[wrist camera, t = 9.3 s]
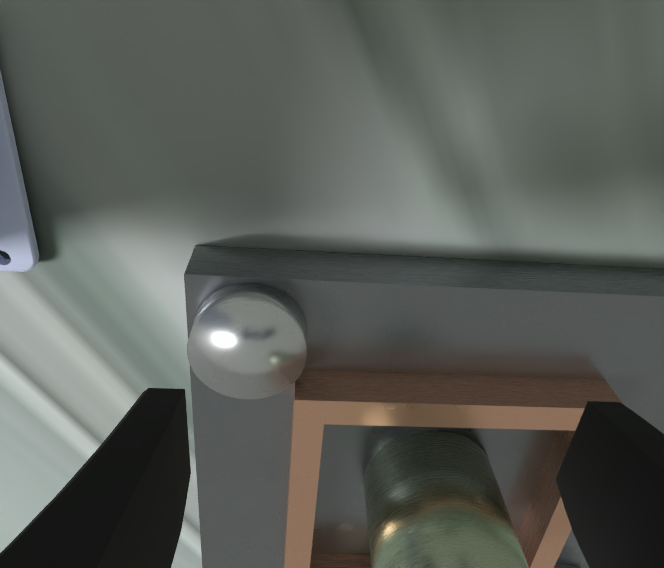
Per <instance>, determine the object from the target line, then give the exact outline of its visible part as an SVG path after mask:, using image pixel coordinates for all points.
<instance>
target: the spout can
mask: <svg viewBox="0 0 664 568" xmlns="http://www.w3.org/2000/svg"><path fill="white" fill-rule="evenodd" d="M364 494H365V504H366V515H367V525H368V535H369V545H370V556H371V566H372V568H529V566H528V564H527V561H526V558H525V556H524V553H523V550H522V547H521V545H520V542H519V539H518V537H517V534H516V531H515V529H514V526H513V523H512V521H511V518H510V515H509V513H508V510H507V507H506V504H505V502H504V499H503V496H502V494H501V491H500V488H499V486H498V483H497V480H496V478H495V475H494V472H493V470H492V467H491V464H490V461H489V459H488V457H487V455H486V453H485V452H484V451H483V449H482V448H481V447H480V446H479V445H477V444H476V443H475V442H474V441H472V440H470V439H468V438H466V437H464V436H462V435H459V434H455V433H451V432H445V431H424V432H417V433H413V434H409V435H406V436H403V437H400V438H398V439H396V440H394V441H392V442H390V443H389V444H387V445H386V446H384V447H383V448H382V449H380V450H379V451H378V452H377V453H376V454H375V455H374V456H373V458H372V459H371V460H370V462H369V464H368V465H367V468H366V470H365V473H364Z"/></svg>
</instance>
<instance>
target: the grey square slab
mask: <svg viewBox="0 0 664 568" xmlns="http://www.w3.org/2000/svg"><path fill="white" fill-rule="evenodd" d="M184 280H185V296H186V312H187V328H188V344H187V355H188V360H189V363H190V375H191V391H192V407H193V423H194V439H195V455H196V471H197V487H198V502H199V518H200V534H201V550H202V566H203V568H372V566H371V556H370V545H369V535H368V525H367V515H366V504H365V494H364V473H365V470H366V468H367V465H368V464H369V462H370V460H371V459H372V458H373V456H374V455H375V454H376V453H377V452H378V451H379V450H380V449H382V448H383V447H384V446H386V445H387V444H389V443H390V442H392V441H394V440H396V439H398V438H400V437H403V436H406V435H409V434H413V433H417V432H424V431H445V432H451V433H455V434H459V435H462V436H464V437H466V438H468V439H470V440H472V441H474V442H475V443H476V444H477V445H479V446H480V447H481V448H482V449H483V451H484V452H485V453H486V455H487V457H488V459H489V461H490V464H491V467H492V470H493V472H494V475H495V478H496V480H497V483H498V486H499V488H500V491H501V494H502V496H503V499H504V502H505V504H506V507H507V510H508V513H509V515H510V518H511V521H512V523H513V526H514V529H515V531H516V534H517V537H518V539H519V542H520V545H521V547H522V550H523V553H524V556H525V558H526V561H527V564H528V566H529V568H589V566H588V564H587V562H586V560H585V558H584V555H583V553H582V551H581V549H580V547H579V545H578V542H577V540H576V538H575V536H574V534H573V531H572V528H571V525H570V522H569V519H568V516H567V514H566V511H565V508H564V504H563V501H562V498H561V495H560V492H559V488H558V485H557V482H556V477H557V474H558V472H559V469H560V467H561V465H562V462H563V460H564V457H565V455H566V452H567V450H568V448H569V445H570V443H571V440H572V438H573V436H574V433H575V431H576V428H577V426H578V423H579V421H580V419H581V416H582V414H583V411H584V409H585V407H586V404H587V402H588V401H599V402H620V403H622V404H623V405H625V406H626V407H628V408H629V409H631V410H632V411H634V412H635V413H636V414H638V415H639V416H640V417H642V418H643V419H645V420H646V421H647V422H649V423H650V424H651V425H653V426H654V427H655V428H657V429H658V430H659V431H661V432H662V433H663V434H664V269H650V268H630V267H611V266H591V265H571V264H552V263H532V262H513V261H493V260H473V259H454V258H434V257H415V256H395V255H375V254H356V253H336V252H316V251H297V250H277V249H258V248H238V247H218V246H199V245H195V248H194V250H193V253H192V256H191V258H190V261H189V263H188V266H187V268H186V271H185V273H184Z"/></svg>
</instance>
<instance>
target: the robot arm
mask: <svg viewBox="0 0 664 568" xmlns="http://www.w3.org/2000/svg"><path fill="white" fill-rule="evenodd" d="M0 250H1V251H4V252H6V253H7V254H9V256H10V258H11V260H9V259H5V258H4V257H2V256H1V254H0V271H19V272H23V271H29V270H30V269H32V268H33V267H34V266H35V265H36V264H37V262H38V261H39V252H38V247H37V242H36V237H35V232H34V228H33V223H32V218H31V213H30V209H29V204H28V199H27V194H26V190H25V185H24V180H23V175H22V171H21V166H20V161H19V156H18V152H17V147H16V142H15V137H14V133H13V128H12V123H11V118H10V114H9V109H8V104H7V99H6V95H5V90H4V85H3V80H2V75H1V71H0ZM190 474H191V469H190V455H189V441H188V427H187V413H186V399H185V389H163V388H148V389H147V390H146V391H144V392H143V393H142V394H141V396H140V397H139V398H138V399H137V401H136V402H135V403H134V405H133V406H132V407H131V409H130V410H129V411H128V412H127V414H126V415H125V416H124V417H123V419H122V420H121V421H120V422H119V424H118V425H117V426H116V427H115V429H114V430H113V431H112V432H111V433H110V435H109V436H108V437H107V438H106V440H105V441H104V442H103V443H102V444H101V446H100V447H99V448H98V449H97V450H96V451H95V453H94V454H93V455H92V456H91V457H90V458H89V459H88V461H87V462H86V463H85V464H84V465H83V466H82V467H81V469H80V470H79V471H78V472H77V473H76V474H75V475H74V477H73V478H72V479H71V480H70V481H69V482H68V483H67V484H66V486H65V487H64V488H63V489H62V490H61V491H60V492H59V493H58V494H57V495H56V497H55V498H54V499H53V500H52V501H51V502H50V503H49V504H48V505H47V506H46V507H45V508H44V509H43V510H42V511H41V512H40V513H39V514H38V515H37V516H36V517H35V518H34V519H33V520H32V521H31V523H30V524H29V525H28V526H27V527H26V528H25V529H24V530H23V531H22V532H21V533H20V534H19V535H18V536H17V537H16V538H15V539H14V540H13V541H12V542H11V543H10V544H9V545H8V546H7V547H6V548H5V549H4V550H3V551H2V552H1V553H0V568H171V565H172V562H173V558H174V554H175V551H176V547H177V543H178V540H179V536H180V532H181V528H182V522H183V516H184V510H185V505H186V499H187V492H188V486H189V480H190ZM556 482H557V485H558V488H559V492H560V495H561V498H562V501H563V504H564V508H565V511H566V514H567V516H568V519H569V522H570V525H571V528H572V531H573V534H574V536H575V538H576V540H577V542H578V545H579V547H580V549H581V551H582V553H583V555H584V558H585V560H586V562H587V564H588V566H589V568H664V434H663V433H662V432H661V431H659V430H658V429H657V428H655V427H654V426H653V425H651V424H650V423H649V422H647V421H646V420H645V419H643V418H642V417H640V416H639V415H638V414H636V413H635V412H634V411H632V410H631V409H629V408H628V407H626V406H625V405H623V404H622V403H620V402H599V401H588V402H587V404H586V407H585V409H584V411H583V414H582V416H581V419H580V421H579V423H578V426H577V428H576V431H575V433H574V436H573V438H572V440H571V443H570V445H569V448H568V450H567V452H566V455H565V457H564V460H563V462H562V465H561V467H560V469H559V472H558V474H557V477H556Z"/></svg>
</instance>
